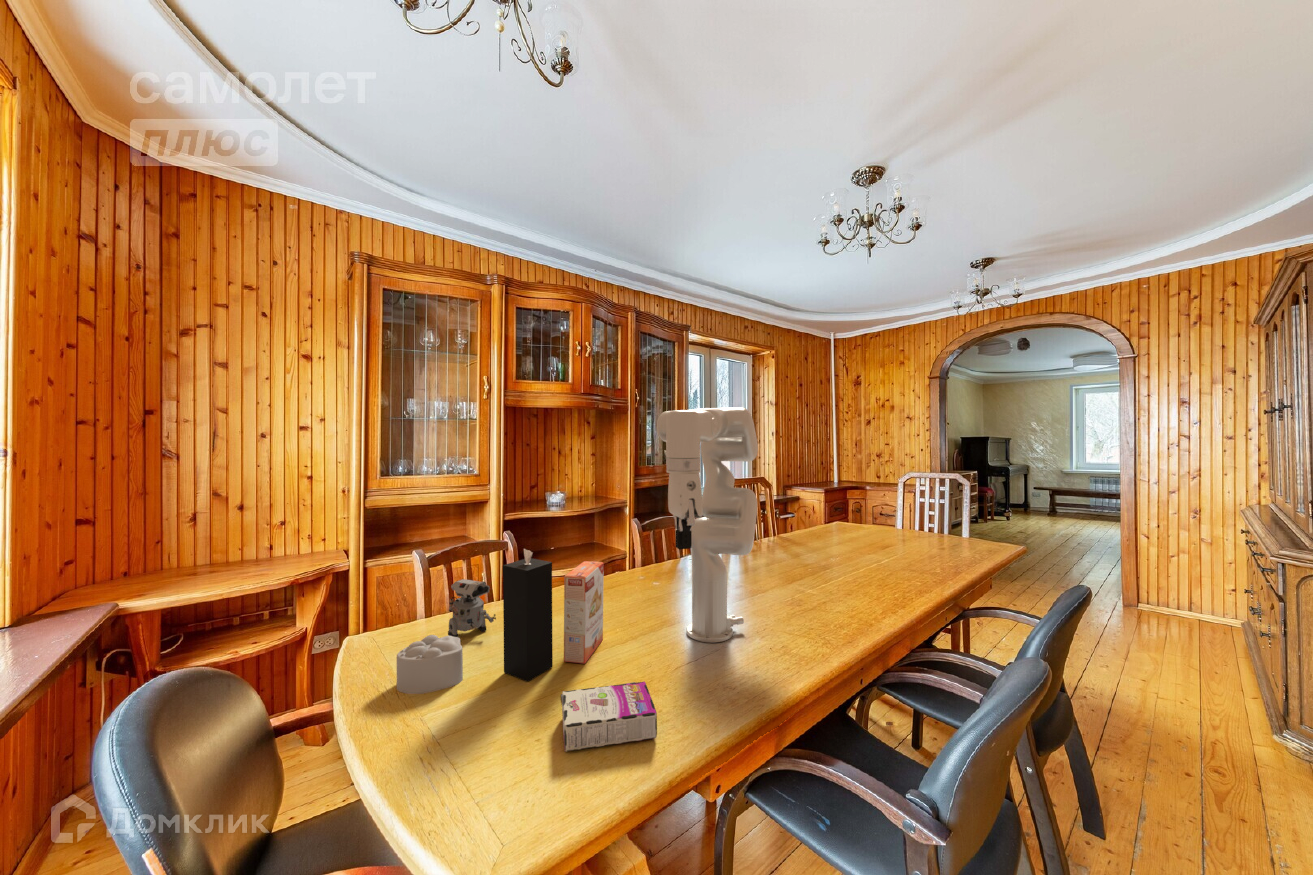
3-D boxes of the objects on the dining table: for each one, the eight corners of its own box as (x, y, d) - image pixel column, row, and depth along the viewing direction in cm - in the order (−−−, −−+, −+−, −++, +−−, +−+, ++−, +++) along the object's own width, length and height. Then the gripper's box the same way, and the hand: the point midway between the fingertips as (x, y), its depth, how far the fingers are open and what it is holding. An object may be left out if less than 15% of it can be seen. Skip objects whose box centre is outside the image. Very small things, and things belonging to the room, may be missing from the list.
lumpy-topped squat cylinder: (464, 684, 105) (463, 644, 105) (396, 700, 99) (396, 658, 98) (459, 663, 114) (458, 627, 114) (396, 677, 108) (396, 639, 108)
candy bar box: (645, 705, 96) (562, 714, 92) (645, 680, 96) (562, 689, 92) (657, 740, 85) (563, 753, 82) (657, 713, 85) (563, 724, 81)
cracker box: (586, 665, 113) (586, 576, 113) (562, 662, 114) (562, 575, 114) (604, 639, 127) (604, 561, 126) (583, 637, 128) (583, 559, 128)
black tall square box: (527, 682, 105) (526, 555, 105) (503, 673, 109) (502, 550, 109) (553, 667, 112) (552, 548, 111) (529, 659, 116) (528, 543, 116)
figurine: (462, 648, 122) (461, 589, 122) (445, 634, 130) (445, 579, 130) (496, 637, 128) (496, 581, 128) (478, 625, 137) (478, 572, 136)
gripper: (712, 467, 100) (712, 555, 101) (687, 463, 115) (687, 539, 115) (679, 468, 98) (679, 558, 98) (657, 464, 112) (657, 542, 113)
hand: (683, 547), depth 107 cm, fingers closed
